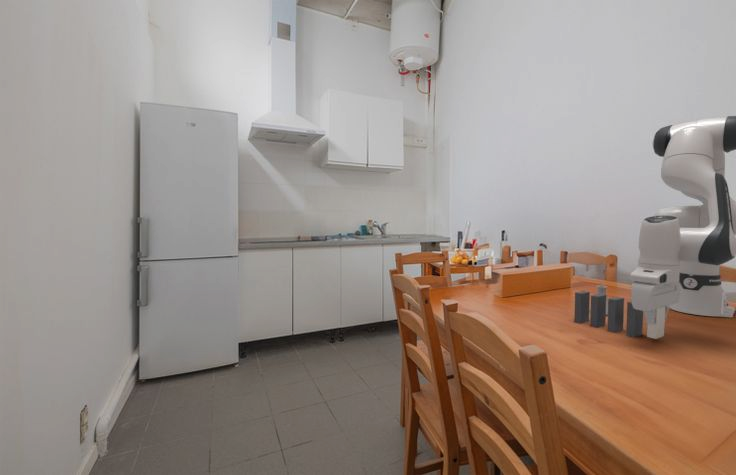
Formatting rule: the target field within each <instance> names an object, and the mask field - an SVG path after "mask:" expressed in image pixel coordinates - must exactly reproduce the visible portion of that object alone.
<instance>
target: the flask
mask: <svg viewBox="0 0 736 475" xmlns="http://www.w3.org/2000/svg"><path fill="white" fill-rule="evenodd" d="M596 289H597V291H596V294H604V295H606V316H608V299H609V298H608V297H607V289H608V287H607V286H606V285H596ZM589 313H591V307H589Z"/></svg>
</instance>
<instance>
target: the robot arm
mask: <svg viewBox="0 0 736 475" xmlns="http://www.w3.org/2000/svg"><path fill="white" fill-rule="evenodd" d="M651 143H652V149H653V151H654V153H655V155H657V156H658V157H662V158H663V160H662V162H661V163H662V165H661V168H660V176H661V179H662V181H663V183H665V185H666V186H667V187H668V188H671V189H673V190H675V191H679V192H681V194H683V195H684V196H686V197H689V198H691V199H694V200H698V201H700V202H701V203H702V204H701V205H676V206H668V207H665V208H664V207H663V208H660V209H658V210H657V211H656V212H655V213H654V215H653V216H652V215H651V216H649V217H646V218H644V219H643V220H642V222H641V225H640V230H639V236H638V249H639V258H638V259H637V267H636V268H635V269H634V270H633V271H632V272H631V273H630V275H629V280H630V281H631V282H632V283H631V290H630V292H631V294H630V295H631V300H630V301H632V306H633V308H634V309H637V310H642V311H643V315H644V316H645V324H647V325H648V324H651V325H653V324H655V323H656V318H655V316H654V313H655V309H658V308H661V307H665V321H666V320H667V315H668V312H669V310H672V311H677V312H680V313H684V314H690V315H696V316H706V317H721V318H734V315H733V314H735V312H736V308H735V307H734V306H729V303H728V302H727V300H728V299H727V296H728V295H727V293H726V292H725V290H724V289H723V287H722V286H721V285H722V279H723V276H722V274H720V268H721V267H720V266H721V265H723V264H725V263H729V261H732V260H733V259H734V258H735V257H736V201H735V200H734V199H733V198H732V197H731V196H730V192H729V186H728V185H729V184H728V183H727V180H726V178H725V176H726V175H725V174H726V173H725V171H726V170H725V169H726V168H725V167H726V157H725V153H727V154H729V153H731V152H733V151H736V115H728V116H726V117H713V118H711V117H710V118H703V119H702V118H701V119H698V120H693V121H688V122H687V121H686V122H683V123H678V124H674V125H673V124H670V125H667V126H666V125H665V126H663V127H661V128H659V129H658V130H657V131H656V132H655V133H654V137H653V140H652V142H651ZM734 311H735V312H734Z"/></svg>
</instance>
